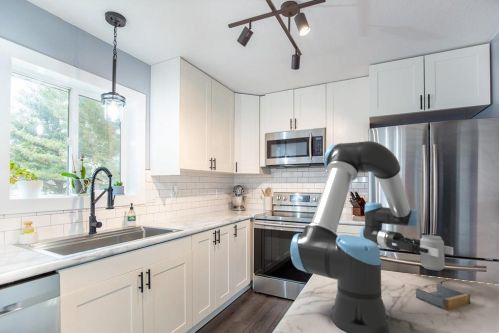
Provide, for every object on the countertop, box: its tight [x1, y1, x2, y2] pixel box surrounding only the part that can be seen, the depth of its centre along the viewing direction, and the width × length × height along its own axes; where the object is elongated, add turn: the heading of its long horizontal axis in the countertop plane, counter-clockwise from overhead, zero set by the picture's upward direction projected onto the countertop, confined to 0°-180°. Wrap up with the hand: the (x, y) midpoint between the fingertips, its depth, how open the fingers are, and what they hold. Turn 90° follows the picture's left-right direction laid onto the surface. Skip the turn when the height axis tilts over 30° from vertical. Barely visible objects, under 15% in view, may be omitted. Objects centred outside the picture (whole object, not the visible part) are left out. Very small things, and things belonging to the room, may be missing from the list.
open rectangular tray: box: [415, 283, 472, 311], centre depth 90 cm, size 12×10×3 cm
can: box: [419, 234, 446, 271], centre depth 103 cm, size 8×8×12 cm
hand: (445, 252), depth 98 cm, fingers closed on can, 7 cm apart
